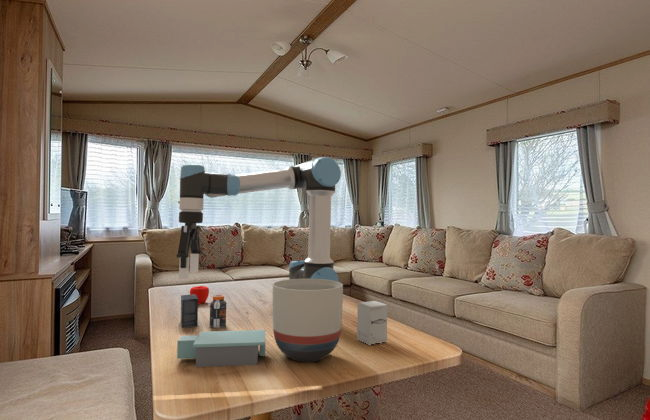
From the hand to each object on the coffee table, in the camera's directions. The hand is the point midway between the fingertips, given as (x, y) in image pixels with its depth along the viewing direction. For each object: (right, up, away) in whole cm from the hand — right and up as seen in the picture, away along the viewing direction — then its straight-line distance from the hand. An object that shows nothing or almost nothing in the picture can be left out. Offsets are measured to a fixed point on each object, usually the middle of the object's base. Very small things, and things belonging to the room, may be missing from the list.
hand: (189, 275), depth 125 cm
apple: (-15, -23, +55) cm, 62 cm away
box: (-7, -22, +18) cm, 29 cm away
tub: (+18, -21, -19) cm, 33 cm away
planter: (+40, -22, -15) cm, 48 cm away
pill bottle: (+5, -22, +17) cm, 28 cm away
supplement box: (+61, -22, +1) cm, 65 cm away
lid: (+16, -19, -19) cm, 31 cm away
